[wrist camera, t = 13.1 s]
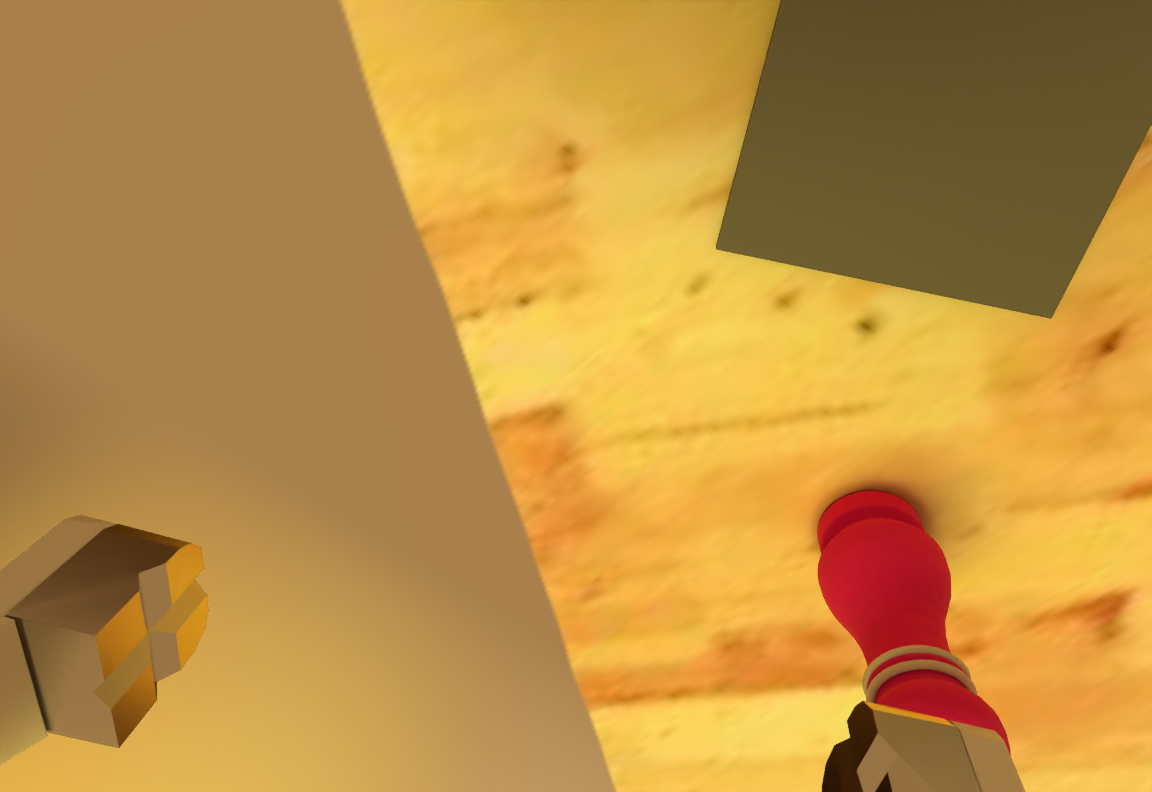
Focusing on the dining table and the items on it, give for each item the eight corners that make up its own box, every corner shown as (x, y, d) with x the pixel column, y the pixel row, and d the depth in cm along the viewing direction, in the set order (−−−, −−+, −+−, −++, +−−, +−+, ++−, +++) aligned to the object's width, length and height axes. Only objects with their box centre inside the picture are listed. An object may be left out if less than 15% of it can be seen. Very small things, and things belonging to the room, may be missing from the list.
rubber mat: (1249, -79, 31) (1257, -80, 31) (1047, 315, 40) (1051, 318, 39) (821, -153, 32) (823, -156, 32) (716, 246, 41) (716, 249, 40)
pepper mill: (951, 508, 46) (1104, 816, 28) (889, 588, 49) (991, 906, 32) (844, 466, 46) (931, 751, 28) (789, 549, 49) (836, 849, 32)
